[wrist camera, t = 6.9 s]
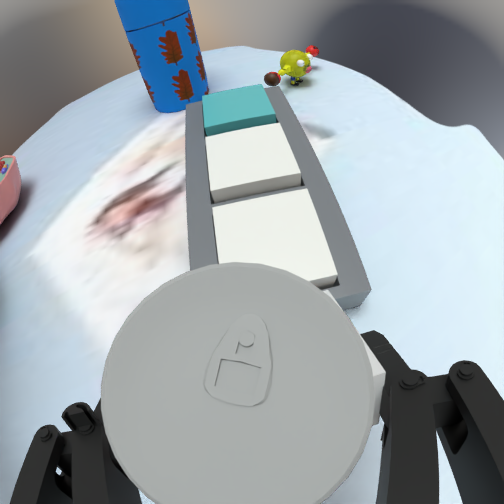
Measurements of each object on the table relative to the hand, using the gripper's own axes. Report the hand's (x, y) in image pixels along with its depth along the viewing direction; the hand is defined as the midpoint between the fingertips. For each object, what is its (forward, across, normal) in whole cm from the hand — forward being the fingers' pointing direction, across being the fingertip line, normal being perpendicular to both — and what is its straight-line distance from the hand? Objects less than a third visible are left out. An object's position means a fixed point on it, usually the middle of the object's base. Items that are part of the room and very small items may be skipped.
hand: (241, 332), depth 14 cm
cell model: (+29, -45, +13) cm, 55 cm away
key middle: (+19, +3, +7) cm, 21 cm away
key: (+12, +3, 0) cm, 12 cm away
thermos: (+40, -6, +24) cm, 47 cm away
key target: (+27, +3, +14) cm, 31 cm away
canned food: (+1, 0, -6) cm, 6 cm away
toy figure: (+38, +15, +22) cm, 47 cm away
